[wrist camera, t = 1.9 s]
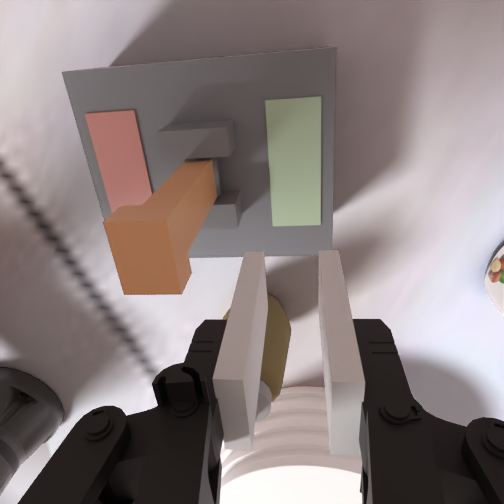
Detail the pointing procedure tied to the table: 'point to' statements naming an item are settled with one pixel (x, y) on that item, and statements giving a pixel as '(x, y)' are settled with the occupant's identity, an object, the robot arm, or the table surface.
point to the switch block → (220, 142)
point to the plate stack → (291, 458)
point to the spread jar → (496, 279)
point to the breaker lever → (163, 230)
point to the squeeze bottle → (272, 356)
